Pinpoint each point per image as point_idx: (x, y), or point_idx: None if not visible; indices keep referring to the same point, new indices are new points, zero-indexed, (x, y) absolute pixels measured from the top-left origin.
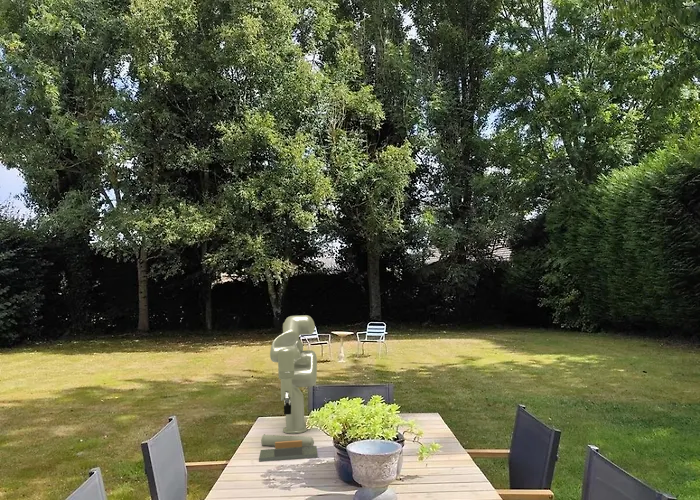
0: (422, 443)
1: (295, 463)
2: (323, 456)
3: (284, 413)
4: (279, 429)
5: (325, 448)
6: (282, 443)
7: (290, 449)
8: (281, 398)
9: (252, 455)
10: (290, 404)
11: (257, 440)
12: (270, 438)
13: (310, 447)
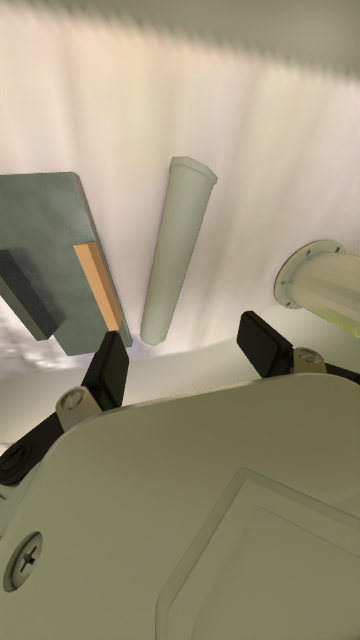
0: None
1: (4, 313)
2: (81, 358)
3: (106, 335)
4: (352, 223)
5: (138, 355)
6: (86, 274)
7: (16, 310)
8: (35, 477)
9: (37, 127)
10: (252, 362)
11: (264, 131)
12: (168, 210)
13: None
